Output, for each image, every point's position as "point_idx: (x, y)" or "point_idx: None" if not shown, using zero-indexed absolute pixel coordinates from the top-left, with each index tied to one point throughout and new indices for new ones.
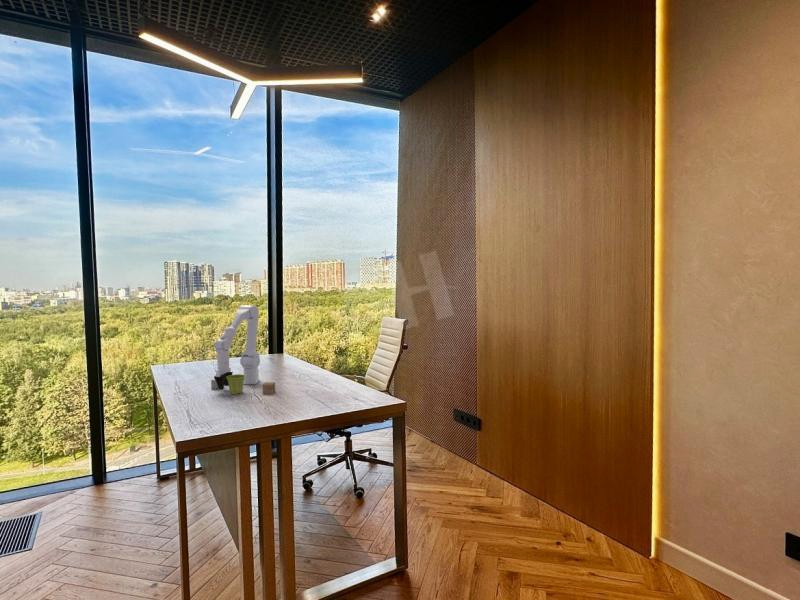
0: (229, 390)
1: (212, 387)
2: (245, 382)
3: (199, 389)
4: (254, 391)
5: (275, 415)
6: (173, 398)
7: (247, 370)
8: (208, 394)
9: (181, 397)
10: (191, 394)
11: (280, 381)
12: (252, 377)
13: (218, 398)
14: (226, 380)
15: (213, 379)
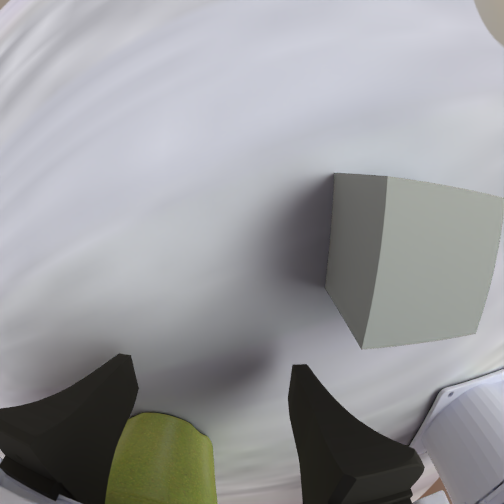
0: (134, 426)
1: (339, 188)
2: (443, 416)
3: (317, 38)
4: (216, 494)
5: None
6: (6, 28)
7: (466, 497)
8: (78, 246)
9: (13, 58)
10: (84, 65)
11: (419, 490)
12: (437, 471)
13: (18, 359)
14: (304, 430)
15: (424, 207)
